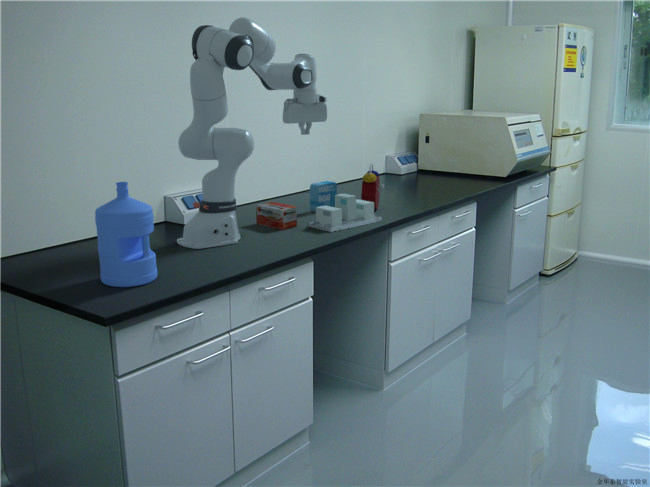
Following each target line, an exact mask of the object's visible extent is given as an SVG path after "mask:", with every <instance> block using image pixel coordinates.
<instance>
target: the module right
mask: <svg viewBox="0 0 650 487" xmlns="http://www.w3.org/2000/svg"><path fill="white" fill-rule="evenodd" d="M374 214H375V210H374V202H369V201H364V200H361V199H358V198H356V217H357V218H358V217H363V219H369V218H373V217H374Z"/></svg>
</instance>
